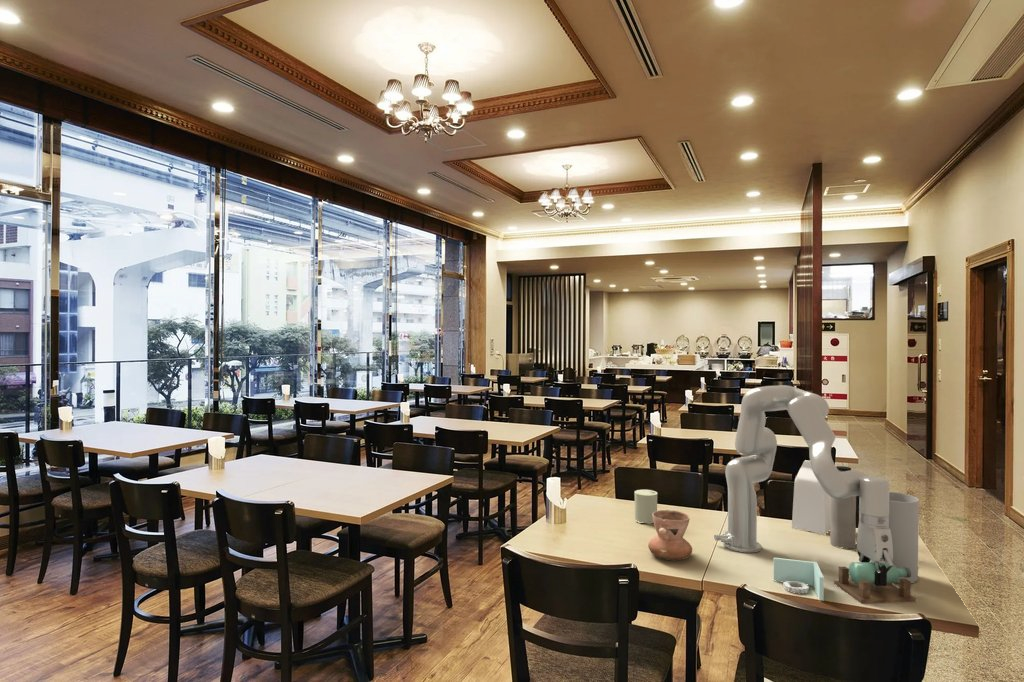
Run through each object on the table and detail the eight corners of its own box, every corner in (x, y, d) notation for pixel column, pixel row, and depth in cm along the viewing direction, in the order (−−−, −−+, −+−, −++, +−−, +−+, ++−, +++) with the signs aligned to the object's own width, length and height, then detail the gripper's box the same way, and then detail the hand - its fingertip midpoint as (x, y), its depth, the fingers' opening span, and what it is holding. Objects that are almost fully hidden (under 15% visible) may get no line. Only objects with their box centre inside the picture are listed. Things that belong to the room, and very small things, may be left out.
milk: (791, 528, 235) (792, 461, 235) (800, 521, 244) (800, 457, 243) (825, 534, 227) (826, 466, 227) (833, 527, 236) (833, 461, 235)
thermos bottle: (851, 541, 219) (851, 465, 219) (859, 549, 212) (859, 470, 211) (827, 540, 221) (828, 464, 221) (834, 547, 213) (835, 469, 213)
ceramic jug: (682, 568, 194) (683, 524, 194) (639, 558, 202) (640, 516, 202) (700, 553, 209) (701, 512, 209) (659, 544, 217) (660, 505, 217)
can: (659, 524, 239) (660, 494, 239) (636, 524, 239) (636, 494, 239) (654, 517, 248) (654, 488, 248) (632, 517, 249) (632, 488, 248)
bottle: (861, 588, 173) (862, 567, 173) (848, 579, 179) (849, 559, 179) (914, 587, 174) (915, 566, 174) (900, 578, 180) (901, 558, 180)
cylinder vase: (874, 581, 185) (875, 499, 184) (867, 566, 196) (867, 489, 196) (922, 587, 180) (923, 504, 180) (911, 571, 192) (912, 493, 192)
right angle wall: (773, 581, 186) (773, 557, 186) (816, 587, 182) (816, 562, 182) (777, 597, 174) (777, 572, 174) (823, 604, 170) (823, 577, 170)
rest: (861, 603, 170) (861, 583, 170) (833, 583, 183) (834, 565, 183) (915, 601, 171) (916, 582, 170) (884, 582, 184) (885, 564, 183)
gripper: (907, 529, 168) (906, 593, 168) (867, 510, 185) (866, 568, 185) (881, 529, 168) (880, 593, 168) (843, 510, 185) (842, 569, 185)
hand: (873, 580), depth 177 cm, fingers closed on bottle, 5 cm apart
